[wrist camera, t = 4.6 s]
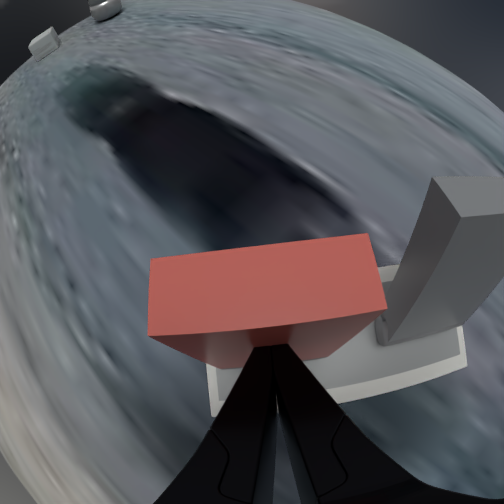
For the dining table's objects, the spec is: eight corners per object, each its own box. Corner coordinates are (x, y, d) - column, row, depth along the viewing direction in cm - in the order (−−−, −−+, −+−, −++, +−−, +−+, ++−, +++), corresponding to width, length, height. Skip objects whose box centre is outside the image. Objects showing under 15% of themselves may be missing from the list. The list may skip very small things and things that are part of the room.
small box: (60, 40, 40) (52, 25, 36) (59, 48, 39) (50, 31, 34) (39, 54, 40) (31, 39, 35) (37, 63, 38) (27, 47, 33)
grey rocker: (456, 331, 13) (546, 209, 6) (381, 351, 13) (461, 217, 6) (446, 305, 14) (521, 177, 7) (372, 321, 15) (432, 177, 8)
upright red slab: (324, 359, 14) (387, 308, 6) (224, 371, 14) (147, 335, 6) (319, 325, 15) (367, 233, 6) (222, 336, 15) (150, 258, 7)
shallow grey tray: (443, 367, 16) (467, 366, 13) (221, 408, 16) (211, 417, 14) (426, 270, 18) (447, 256, 15) (212, 300, 19) (200, 288, 16)
